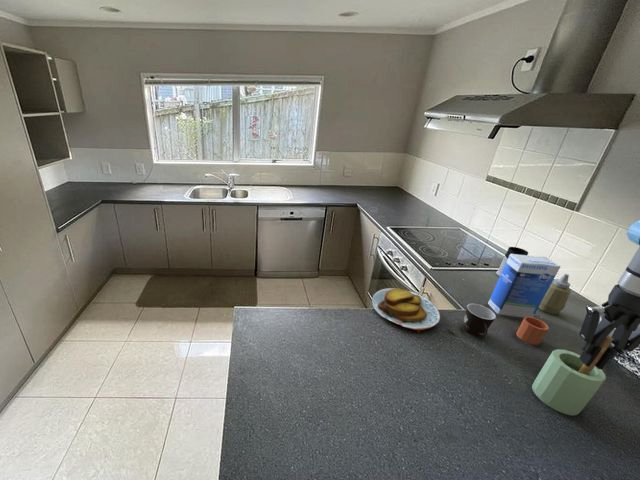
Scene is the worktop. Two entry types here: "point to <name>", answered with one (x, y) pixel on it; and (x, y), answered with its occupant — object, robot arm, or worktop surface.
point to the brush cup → (532, 330)
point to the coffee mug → (477, 320)
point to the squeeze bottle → (556, 296)
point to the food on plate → (406, 308)
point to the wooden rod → (604, 346)
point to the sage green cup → (566, 383)
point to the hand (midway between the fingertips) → (590, 363)
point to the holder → (510, 251)
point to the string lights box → (523, 285)
